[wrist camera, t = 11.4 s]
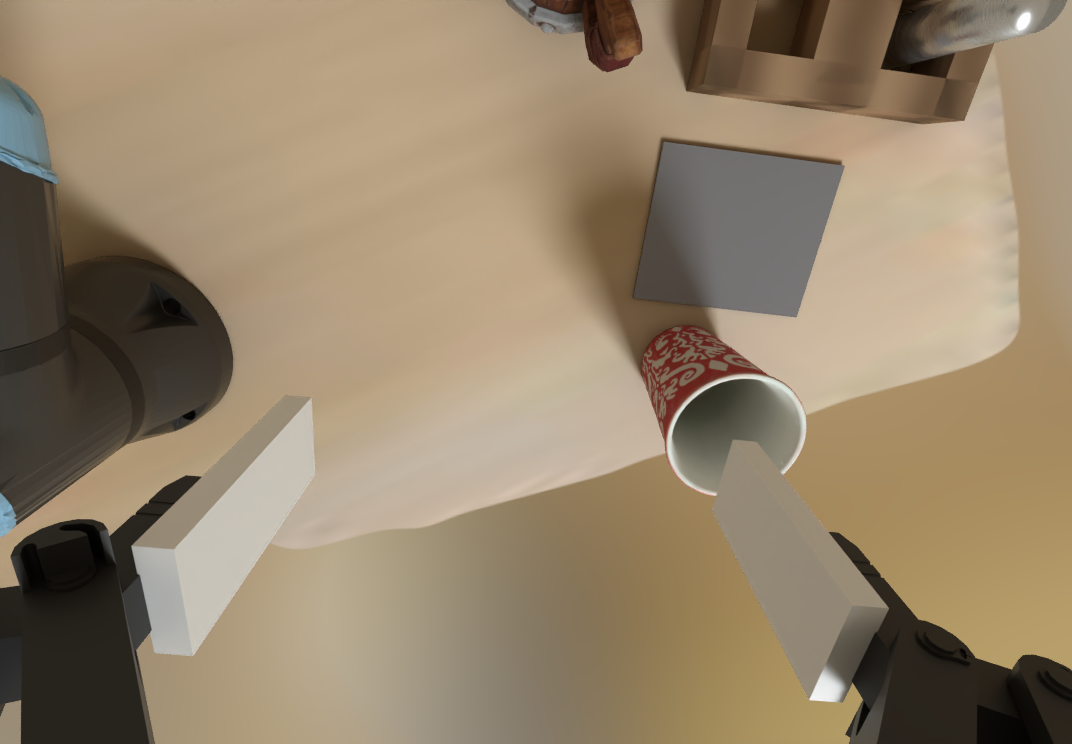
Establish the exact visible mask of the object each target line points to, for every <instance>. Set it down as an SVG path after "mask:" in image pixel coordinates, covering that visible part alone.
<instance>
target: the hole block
mask: <svg viewBox="0 0 1072 744" xmlns="http://www.w3.org/2000/svg"><path fill="white" fill-rule="evenodd" d="M757 1H758V0H705V4H704V9H703V14H702V18H701V23H700V28H699V33H698V38H697V43H696V48H695V53H694V58H693V63H692V68H691V73H690V78H689V83H688V87H687V91H688V92H695V93H702V94H709V95H717V96H724V97H731V98H738V99H746V100H753V101H760V102H767V103H774V104H782V105H789V106H796V107H803V108H810V109H818V110H825V111H832V112H839V113H846V114H854V115H861V116H868V117H875V118H882V119H890V120H897V121H904V122H911V123H919V124H931V123H942V122H954V121H964V120H965V117H966V115H967V112H968V109H969V107H970V104H971V102H972V99H973V97H974V94H975V91H976V89H977V86H978V84H979V81H980V78H981V76H982V73H983V71H984V68H985V66H986V63H987V60H988V58H989V55H990V53H991V50H992V47H993V45H994V43H992V44H988V45H984V46H980V47H976V48H972V49H968V50H964V51H960V52H956V53H952V54H948V55H944V56H940V57H936V58H932V59H928V60H924V61H920V62H916V63H914V64H913V66H912V69H911V72H910V73H905V72H898V71H891V70H884V69H881V66H882V62H883V59H884V56H885V53H886V50H887V47H888V44H889V41H890V38H891V35H892V31H893V28H894V25H895V22H896V19H897V16H898V13H899V10H900V9H906V10H913V11H917V10H920V9H922V8H925V7H927V6H930V5H932V4H935V3H938V2H940V1H943V0H804V2H803V6H802V9H801V13H800V17H799V21H798V25H797V29H796V32H795V36H794V40H793V44H792V48H791V51H790V55H789V56H787V55H780V54H773V53H766V52H759V51H752V50H746V48H747V44H748V39H749V35H750V31H751V27H752V22H753V18H754V14H755V9H756V5H757Z"/></svg>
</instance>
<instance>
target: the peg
mask: <svg viewBox="0 0 1072 744" xmlns="http://www.w3.org/2000/svg"><path fill="white" fill-rule="evenodd" d="M1066 2H1067V0H943V1H940V2H938V3H935V4H932V5H930V6H927V7H925V8H922V9H920V10H917V11H914V12H912V13H909V14H907V15H904V16H901V17H899V18H897V19H896V22H895V25H894V28H893V31H892V35H891V38H890V41H889V44H888V47H887V50H886V53H885V56H884V59H883V62H882V66H881V69H884V70H888V69H892V68H896V67H900V66H904V65H908V64H912V63H916V62H920V61H924V60H928V59H932V58H936V57H940V56H944V55H948V54H952V53H956V52H960V51H964V50H968V49H972V48H976V47H980V46H984V45H988V44H992V43H996V42H1000V41H1004V40H1008V39H1012V38H1016V37H1020V36H1024V35H1028V34H1032V33H1036V32H1038V31H1040V30H1043V29H1044V28H1046V27H1048V26H1049V25H1050V24H1051V23H1052V22H1053V21H1055V19H1056V18H1057V17H1058V16H1059V15H1060V13H1061V11H1062V10H1063V8H1064V7H1065V5H1066Z"/></svg>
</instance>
